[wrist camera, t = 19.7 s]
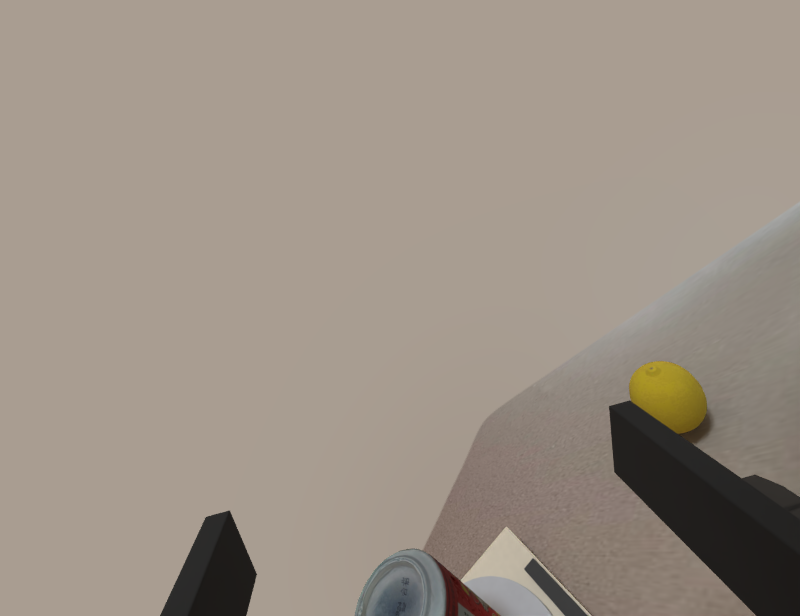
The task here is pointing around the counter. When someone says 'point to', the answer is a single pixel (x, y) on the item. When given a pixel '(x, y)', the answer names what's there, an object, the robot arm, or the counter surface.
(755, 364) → the counter surface
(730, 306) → the counter surface
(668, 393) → the lemon
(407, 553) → the soda can
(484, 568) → the kitchen scale
